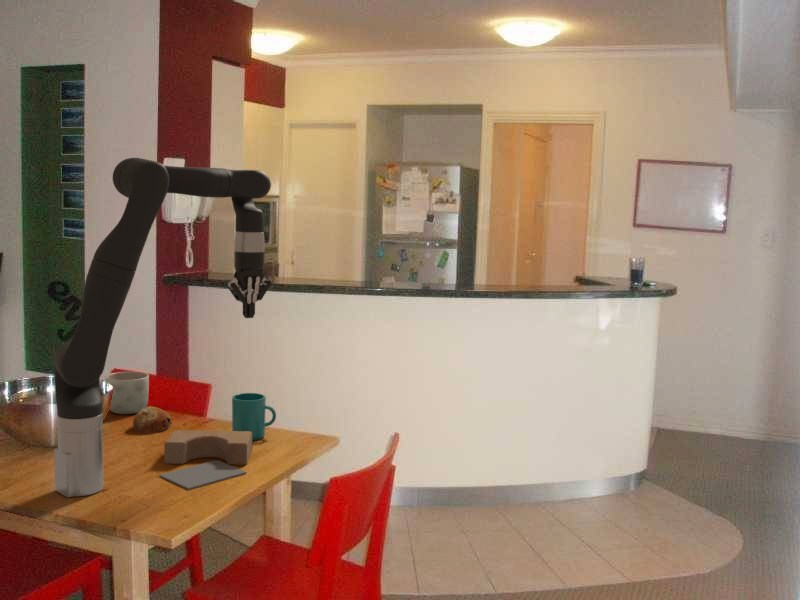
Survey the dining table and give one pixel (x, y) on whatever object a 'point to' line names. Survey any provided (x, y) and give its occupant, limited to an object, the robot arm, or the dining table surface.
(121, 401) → the planter
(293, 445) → the dining table surface
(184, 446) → the decorative block
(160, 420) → the bread roll
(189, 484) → the mat
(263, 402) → the cup
